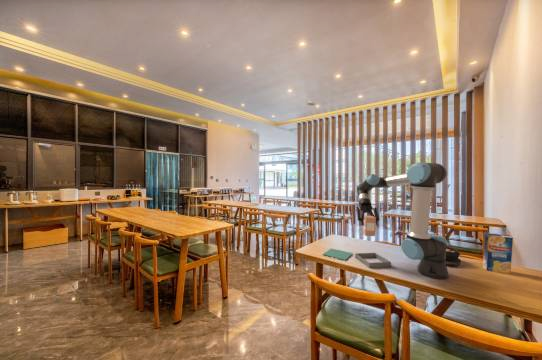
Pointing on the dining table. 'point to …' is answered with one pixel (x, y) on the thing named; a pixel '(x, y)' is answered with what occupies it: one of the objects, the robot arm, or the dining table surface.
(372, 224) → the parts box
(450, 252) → the casserole
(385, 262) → the bin
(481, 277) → the dining table surface
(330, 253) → the mat
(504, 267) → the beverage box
